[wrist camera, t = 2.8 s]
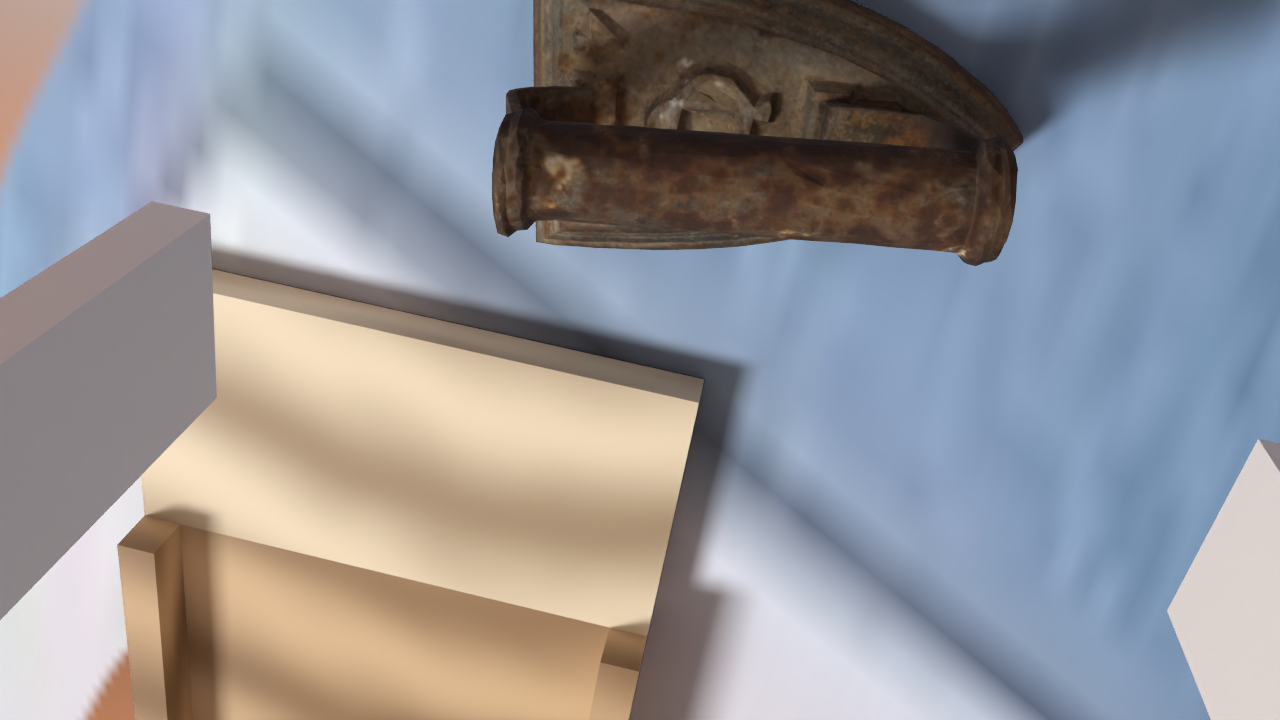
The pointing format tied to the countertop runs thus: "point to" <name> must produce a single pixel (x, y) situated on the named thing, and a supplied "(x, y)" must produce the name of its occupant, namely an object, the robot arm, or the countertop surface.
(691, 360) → the countertop surface
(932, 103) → the clothes iron
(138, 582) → the cradle
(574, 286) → the countertop surface
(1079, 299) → the countertop surface
